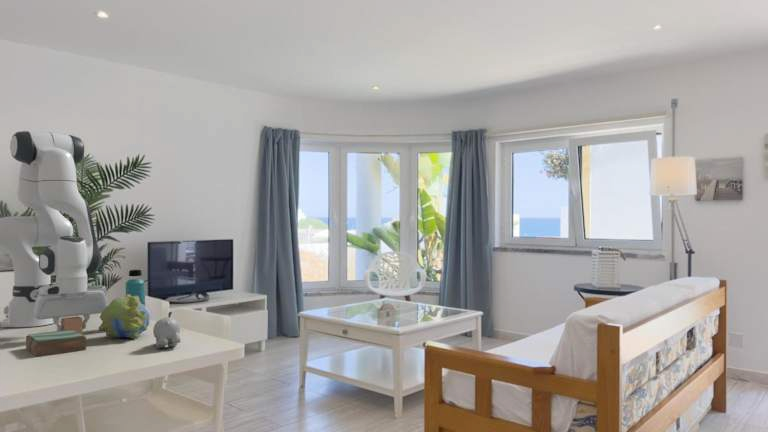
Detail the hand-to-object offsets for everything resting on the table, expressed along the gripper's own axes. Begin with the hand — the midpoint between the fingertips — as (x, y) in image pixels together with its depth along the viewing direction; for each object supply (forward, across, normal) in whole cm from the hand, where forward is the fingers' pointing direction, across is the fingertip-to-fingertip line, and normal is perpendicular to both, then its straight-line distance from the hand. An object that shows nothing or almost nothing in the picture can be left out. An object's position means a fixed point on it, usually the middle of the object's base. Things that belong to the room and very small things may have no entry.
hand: (71, 330), depth 174 cm
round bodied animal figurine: (+2, -16, +35) cm, 38 cm away
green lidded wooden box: (+2, +8, +16) cm, 18 cm away
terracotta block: (+2, 0, 0) cm, 2 cm away
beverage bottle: (+2, -21, -4) cm, 22 cm away
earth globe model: (+2, -12, +14) cm, 18 cm away
